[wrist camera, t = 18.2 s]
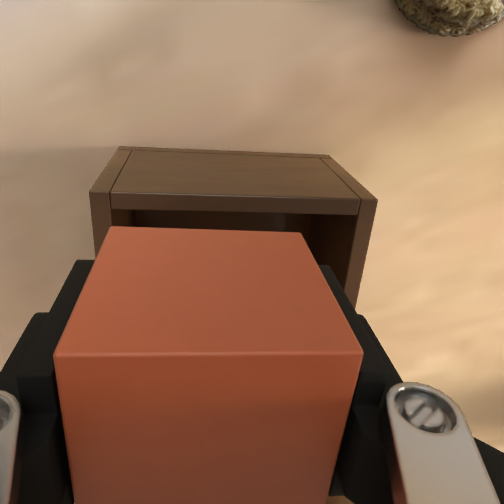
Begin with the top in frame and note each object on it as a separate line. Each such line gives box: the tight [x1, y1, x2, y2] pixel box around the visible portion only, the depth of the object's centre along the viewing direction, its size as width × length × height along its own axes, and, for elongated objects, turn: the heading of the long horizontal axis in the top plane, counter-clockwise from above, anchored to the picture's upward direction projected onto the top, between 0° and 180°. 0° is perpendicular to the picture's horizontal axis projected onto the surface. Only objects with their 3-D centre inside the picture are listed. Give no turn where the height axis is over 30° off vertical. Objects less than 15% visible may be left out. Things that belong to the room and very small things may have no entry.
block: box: [53, 226, 363, 504], centre depth 9 cm, size 4×4×4 cm
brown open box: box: [89, 146, 378, 309], centre depth 28 cm, size 17×14×9 cm
